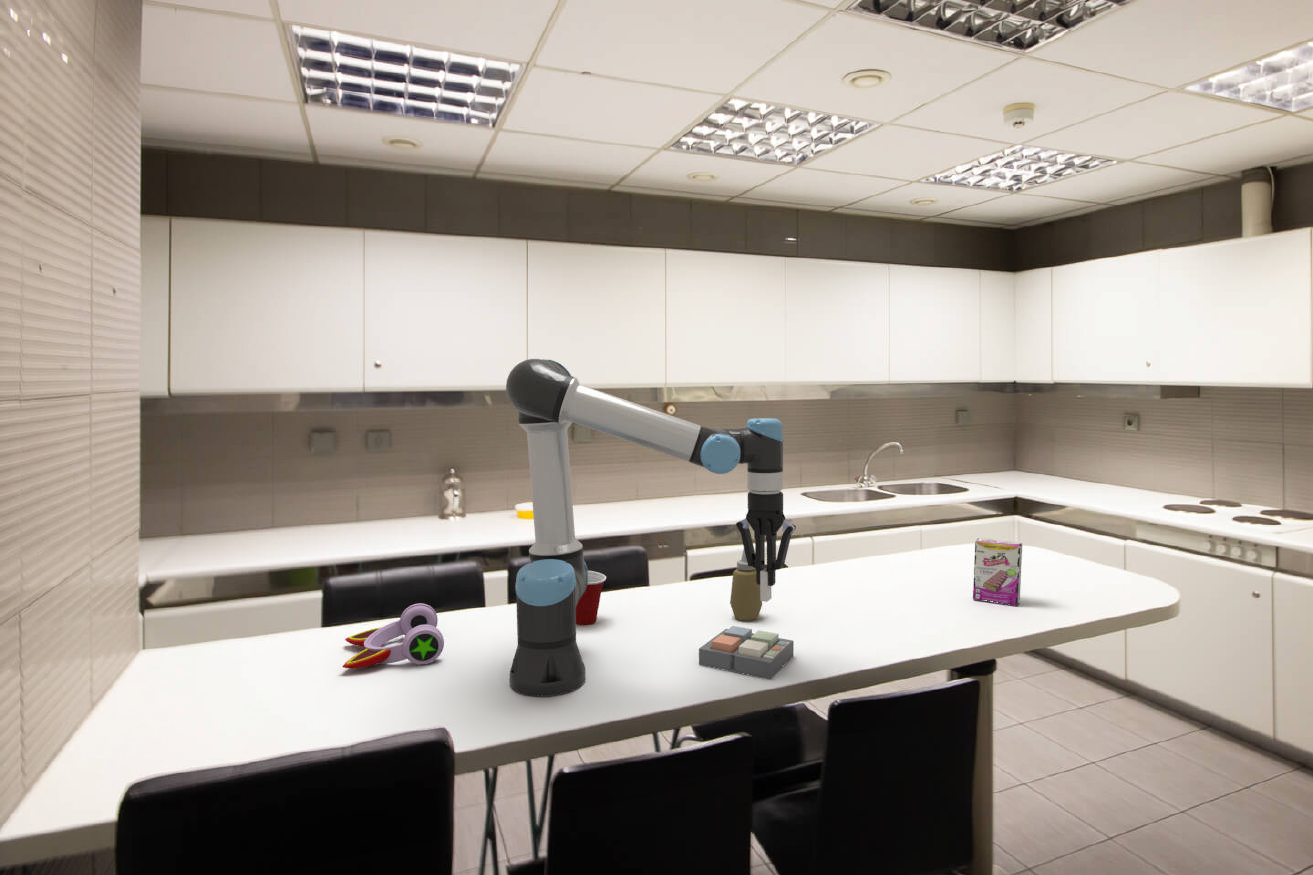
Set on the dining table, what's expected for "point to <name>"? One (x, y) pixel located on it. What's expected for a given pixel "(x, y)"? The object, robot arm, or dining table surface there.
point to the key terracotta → (726, 643)
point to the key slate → (739, 633)
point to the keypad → (748, 659)
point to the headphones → (417, 645)
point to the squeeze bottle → (745, 592)
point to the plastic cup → (590, 599)
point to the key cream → (753, 648)
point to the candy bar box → (997, 571)
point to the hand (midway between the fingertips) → (766, 599)
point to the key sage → (766, 638)
